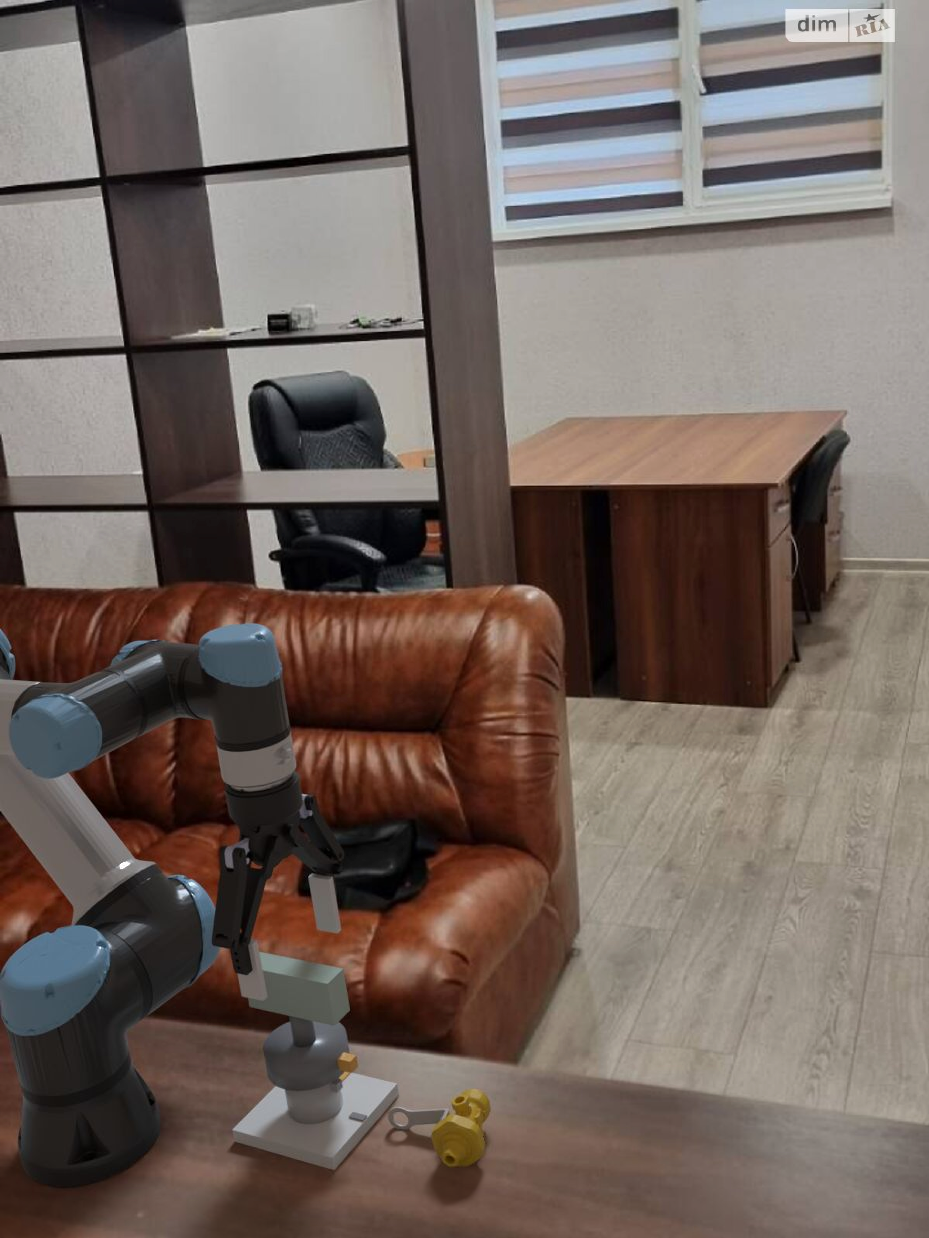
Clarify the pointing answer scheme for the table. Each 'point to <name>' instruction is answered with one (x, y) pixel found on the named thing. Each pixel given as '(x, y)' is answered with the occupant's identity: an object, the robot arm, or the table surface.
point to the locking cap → (305, 1023)
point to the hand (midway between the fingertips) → (293, 962)
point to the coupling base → (320, 1135)
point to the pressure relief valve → (453, 1127)
